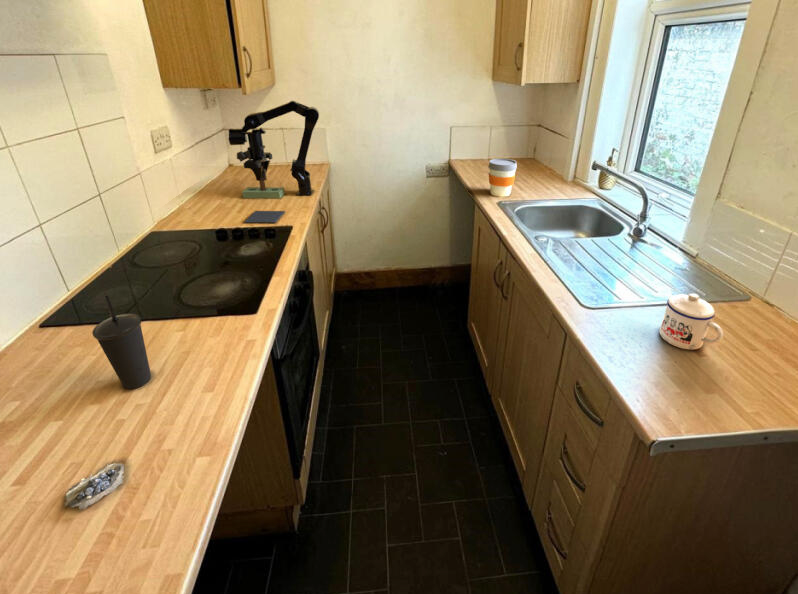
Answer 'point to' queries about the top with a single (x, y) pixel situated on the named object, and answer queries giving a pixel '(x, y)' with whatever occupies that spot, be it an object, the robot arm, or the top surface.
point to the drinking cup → (124, 347)
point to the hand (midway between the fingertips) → (261, 178)
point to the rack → (263, 192)
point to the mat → (264, 217)
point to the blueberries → (95, 486)
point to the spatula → (263, 180)
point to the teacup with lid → (688, 322)
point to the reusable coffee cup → (501, 176)
